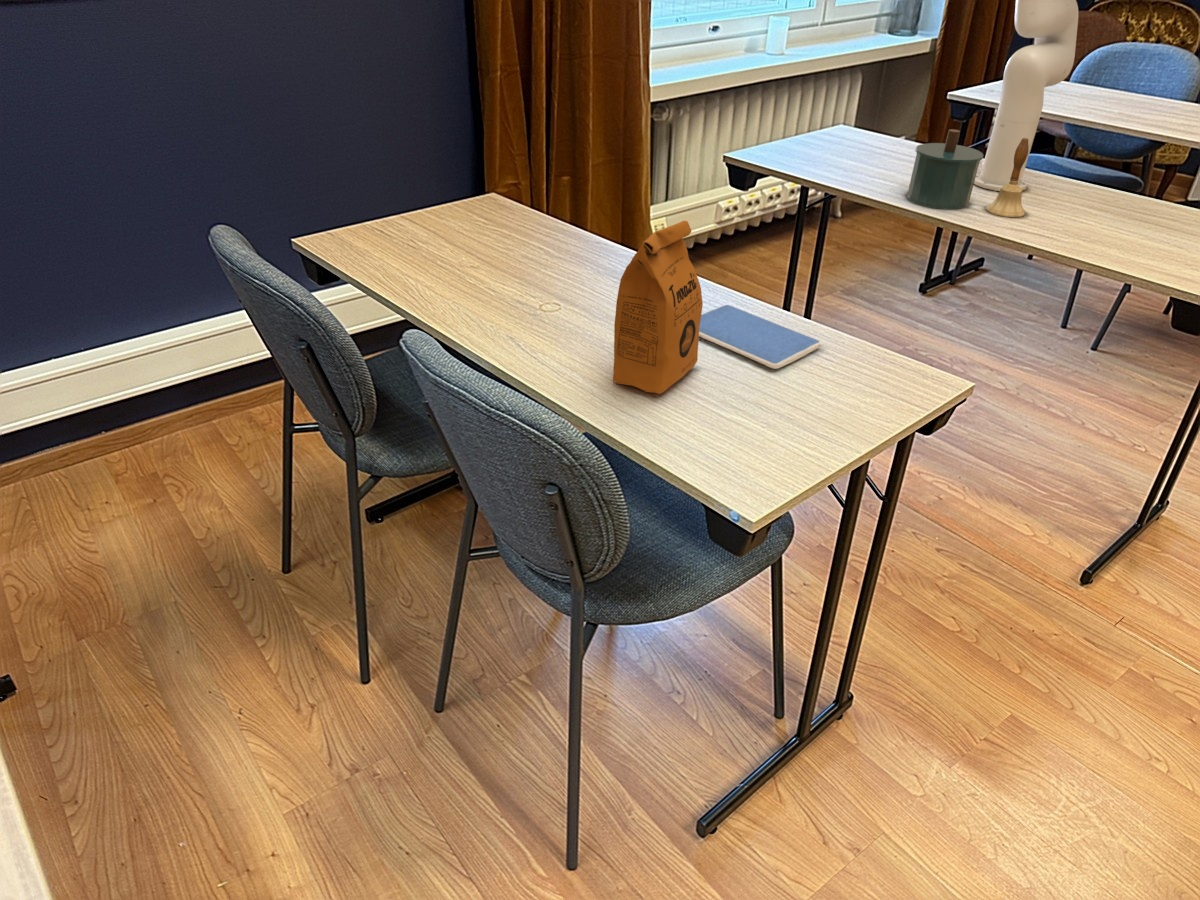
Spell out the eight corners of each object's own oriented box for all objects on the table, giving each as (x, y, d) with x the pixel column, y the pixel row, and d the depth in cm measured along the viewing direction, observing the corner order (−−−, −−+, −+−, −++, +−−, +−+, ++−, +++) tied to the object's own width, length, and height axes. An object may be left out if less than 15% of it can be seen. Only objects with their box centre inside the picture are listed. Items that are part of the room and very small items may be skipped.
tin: (894, 195, 202) (904, 150, 196) (934, 188, 208) (945, 143, 203) (940, 212, 193) (952, 165, 187) (980, 204, 199) (993, 157, 193)
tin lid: (900, 152, 197) (906, 126, 194) (944, 145, 203) (950, 120, 200) (952, 168, 187) (958, 141, 183) (996, 161, 193) (1003, 134, 190)
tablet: (676, 330, 138) (676, 322, 137) (726, 309, 145) (726, 301, 144) (774, 373, 126) (775, 365, 126) (822, 348, 134) (824, 340, 133)
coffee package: (707, 371, 126) (723, 225, 114) (659, 404, 118) (671, 250, 106) (651, 351, 131) (661, 209, 119) (602, 381, 123) (607, 231, 111)
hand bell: (990, 215, 192) (1011, 142, 183) (982, 204, 198) (1002, 132, 190) (1029, 219, 191) (1052, 144, 182) (1020, 207, 197) (1041, 135, 189)
